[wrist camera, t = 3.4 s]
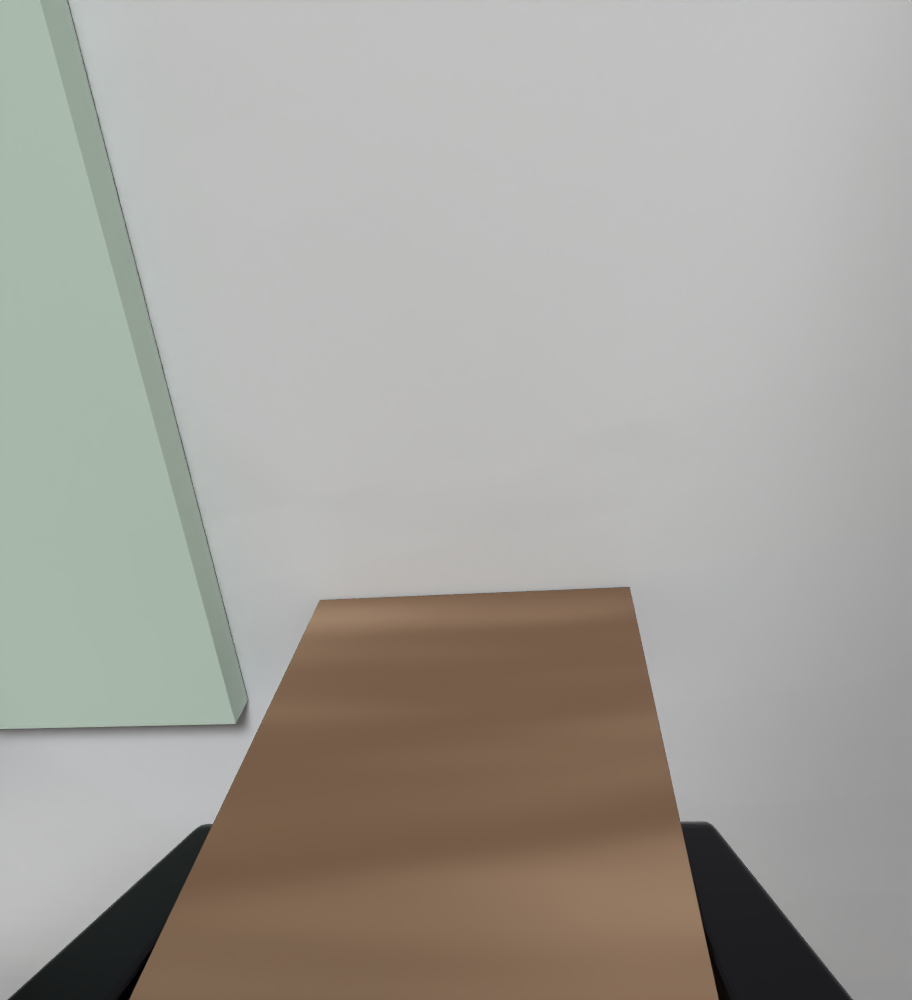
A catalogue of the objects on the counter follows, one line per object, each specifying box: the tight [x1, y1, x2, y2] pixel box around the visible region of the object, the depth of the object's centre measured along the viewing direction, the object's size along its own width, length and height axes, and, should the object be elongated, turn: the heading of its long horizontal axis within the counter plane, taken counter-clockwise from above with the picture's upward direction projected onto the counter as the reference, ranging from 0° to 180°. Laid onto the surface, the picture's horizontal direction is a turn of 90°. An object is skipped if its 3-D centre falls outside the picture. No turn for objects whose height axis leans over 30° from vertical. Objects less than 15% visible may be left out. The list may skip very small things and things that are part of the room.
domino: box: [129, 587, 719, 1000], centre depth 8 cm, size 2×5×10 cm, turn 96°
